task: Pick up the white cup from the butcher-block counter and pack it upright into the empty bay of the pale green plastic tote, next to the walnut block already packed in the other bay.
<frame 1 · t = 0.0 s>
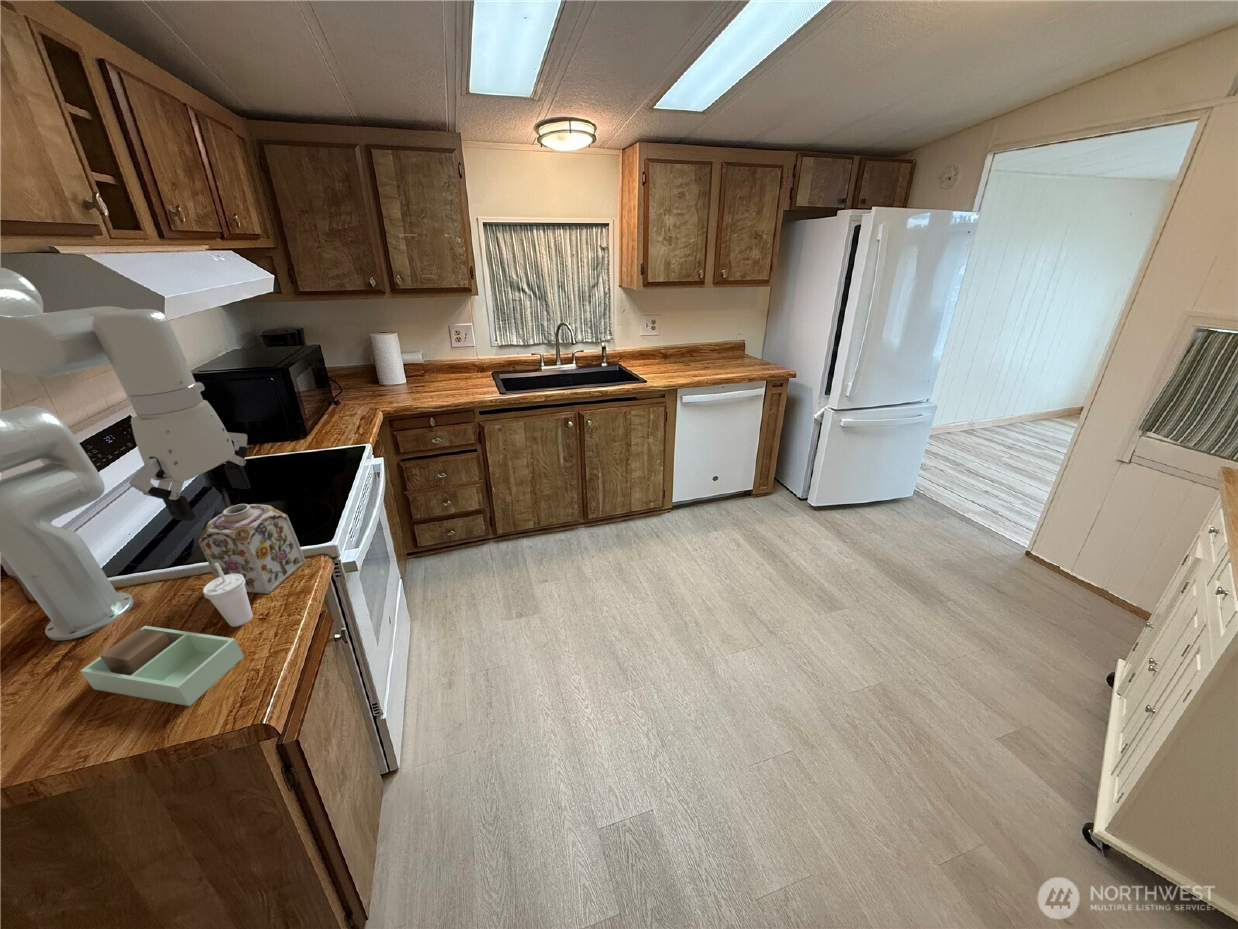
hand: (215, 502, 76), 31 cm above the table, fingers open, 9 cm apart
white cup: (242, 622, 95), on the table
walnut block: (149, 668, 85), point 1 cm above the table, touching tote
decorative jar: (266, 577, 108), on the table
tote: (172, 674, 84), on the table
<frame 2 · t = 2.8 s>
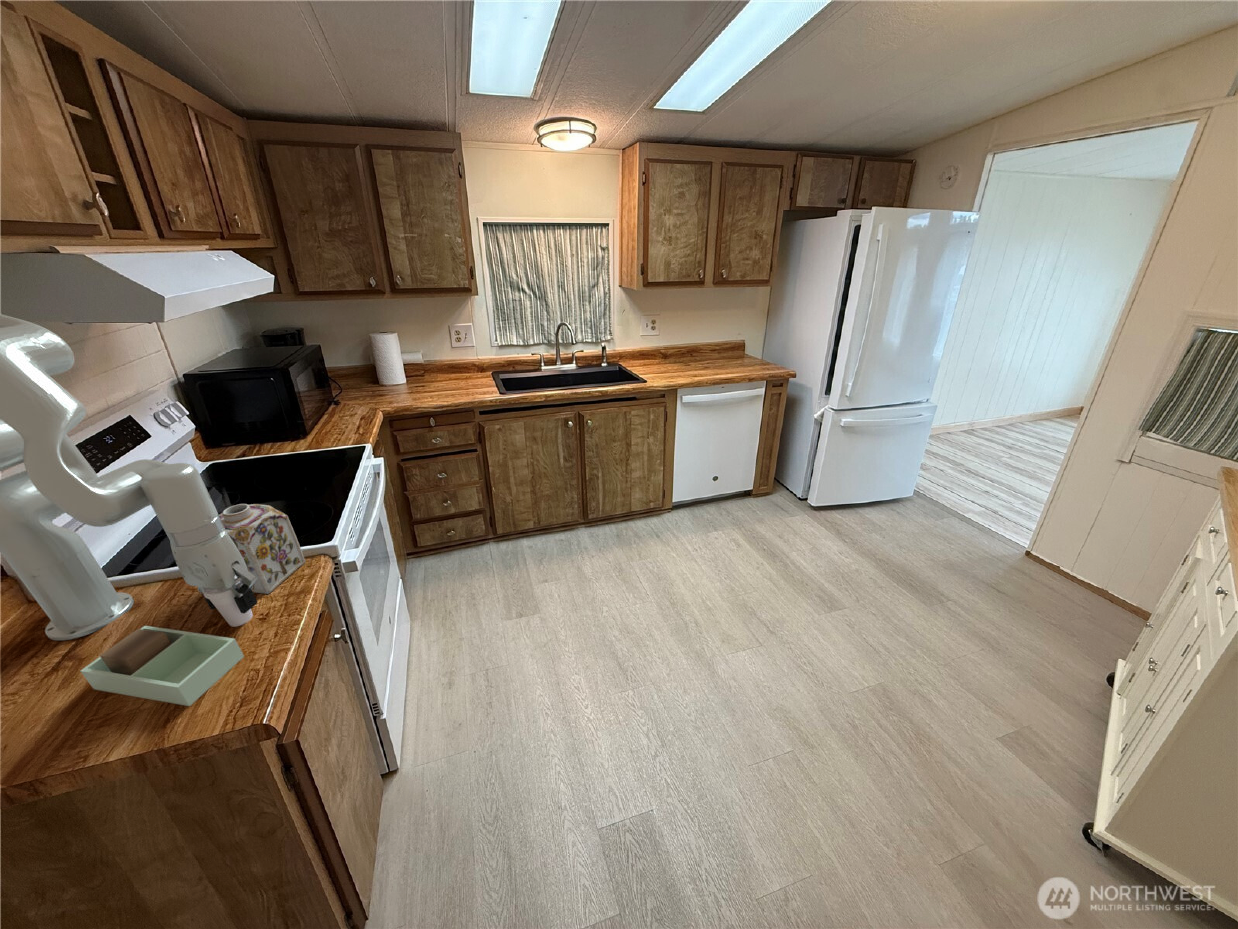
hand: (234, 605, 94), 4 cm above the table, fingers closed on white cup, 6 cm apart
white cup: (242, 622, 95), on the table, touching gripper
everything else where it was.
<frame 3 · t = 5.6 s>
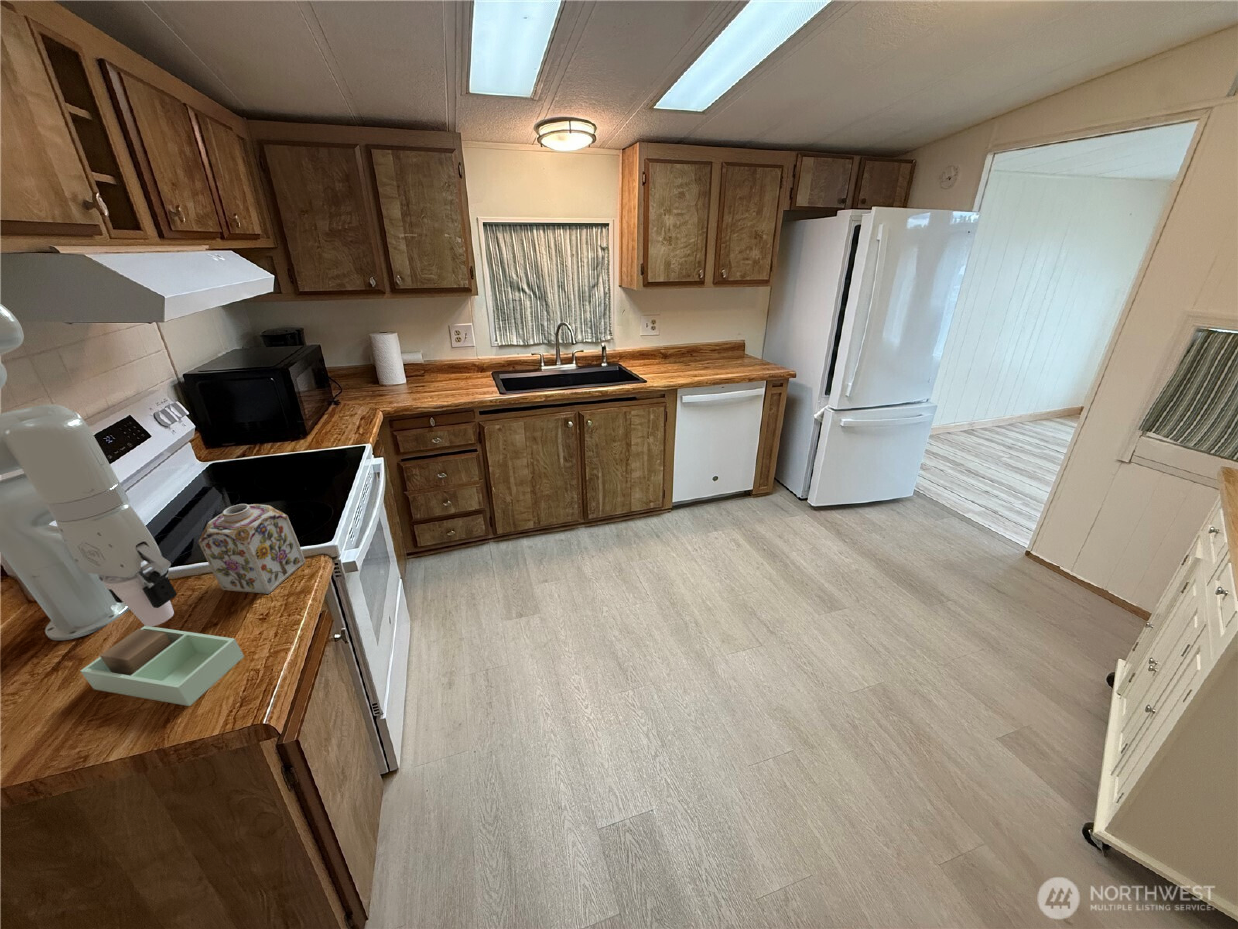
hand: (147, 598, 75), 18 cm above the table, fingers closed on white cup, 6 cm apart
white cup: (159, 619, 77), point 14 cm above the table, touching gripper
everything else where it was.
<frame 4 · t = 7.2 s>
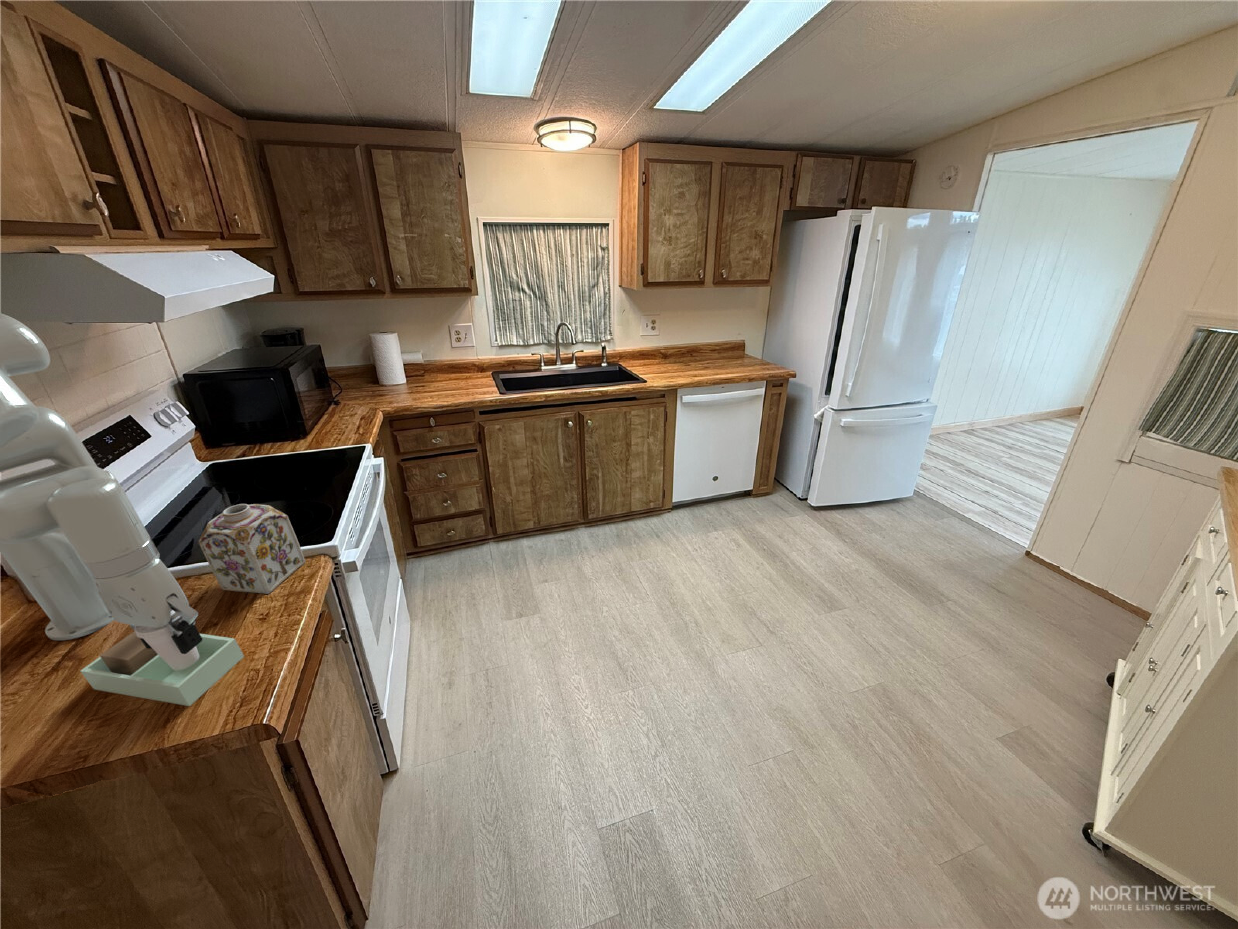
hand: (174, 644, 80), 8 cm above the table, fingers closed on white cup, 6 cm apart
white cup: (186, 662, 82), point 4 cm above the table, touching gripper
everything else where it was.
when the fingers open (6 cm above the table, at t = 8.2 s): white cup drops 1 cm, resting on tote.
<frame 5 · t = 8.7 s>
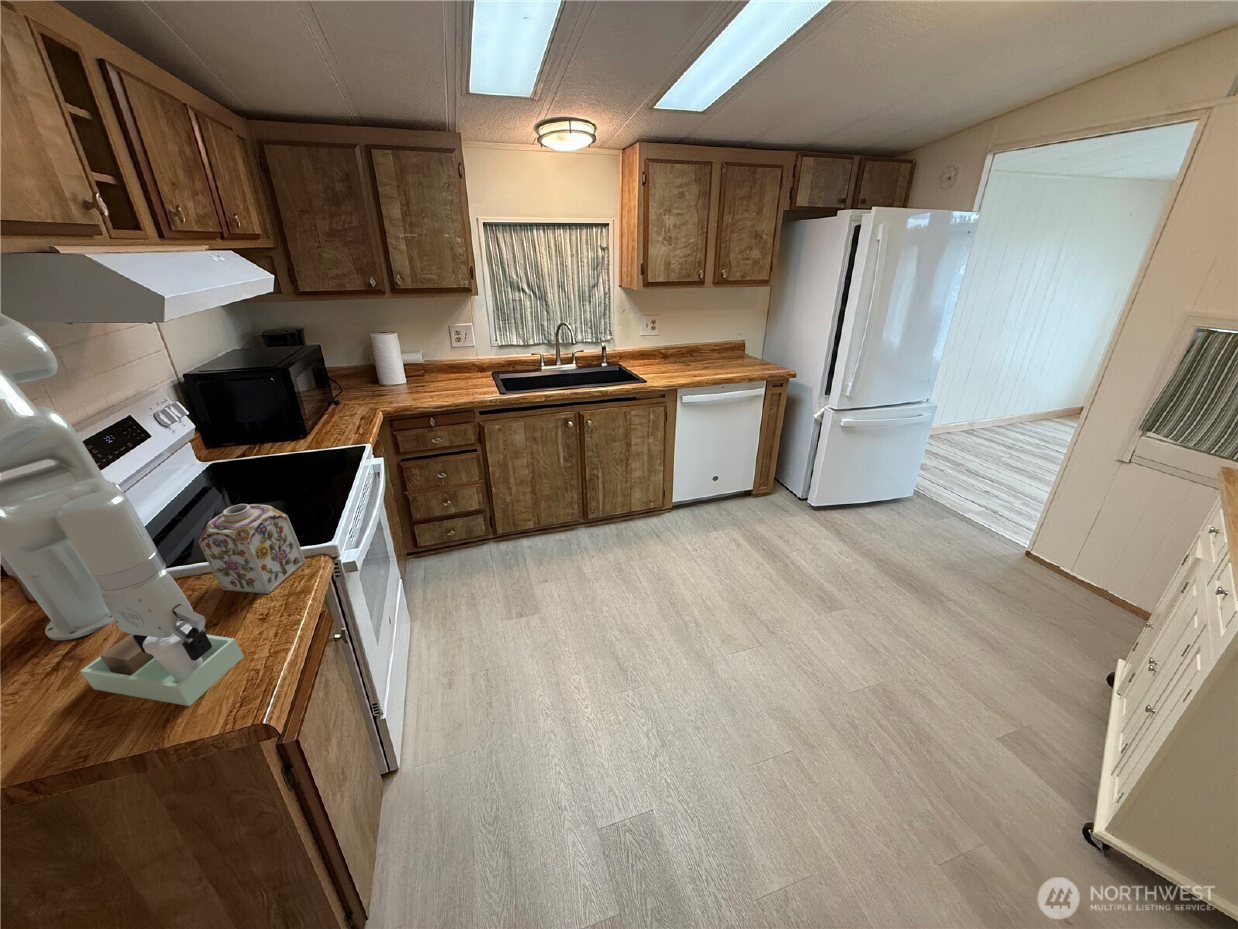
hand: (178, 650, 80), 7 cm above the table, fingers open, 9 cm apart
white cup: (192, 676, 83), resting on tote
everything else where it was.
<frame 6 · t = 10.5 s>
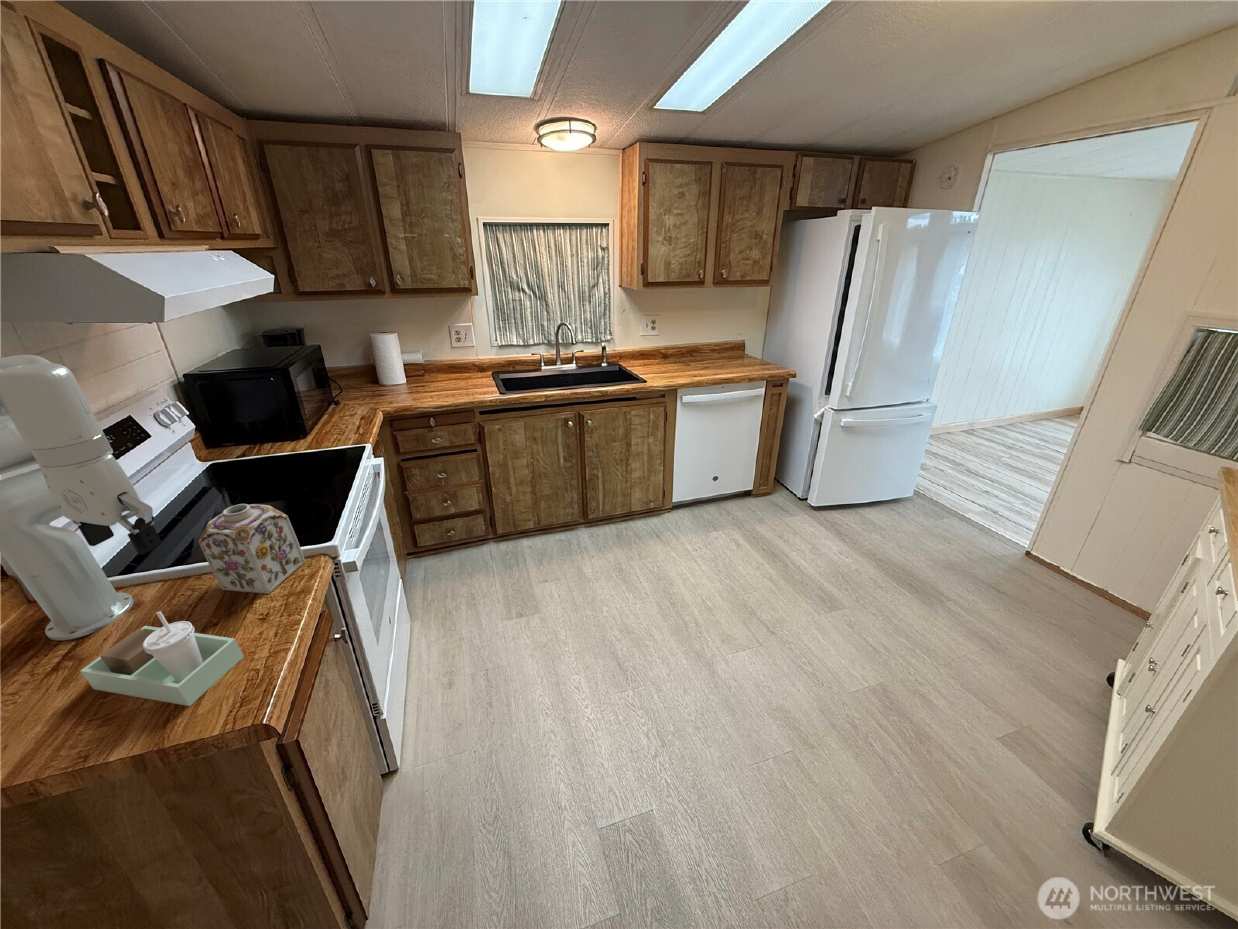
hand: (126, 545, 77), 25 cm above the table, fingers open, 9 cm apart
nothing on the table moved.
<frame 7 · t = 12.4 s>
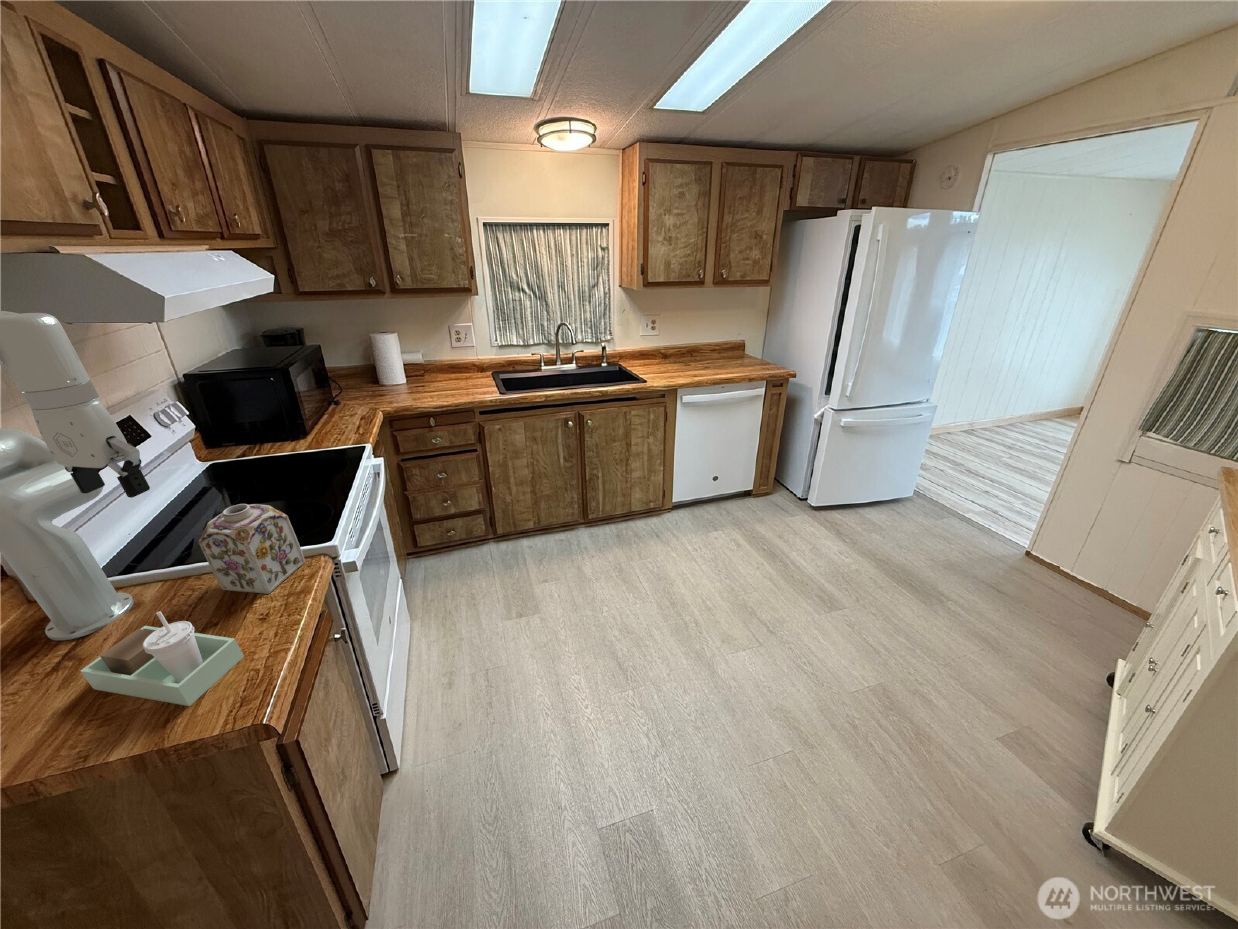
hand: (116, 491, 82), 30 cm above the table, fingers open, 9 cm apart
nothing on the table moved.
at the end: white cup 0.6 cm from the target spot on the tote, point 0.4 cm above the tote's base; white cup tilted 0°; the gripper is holding nothing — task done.
